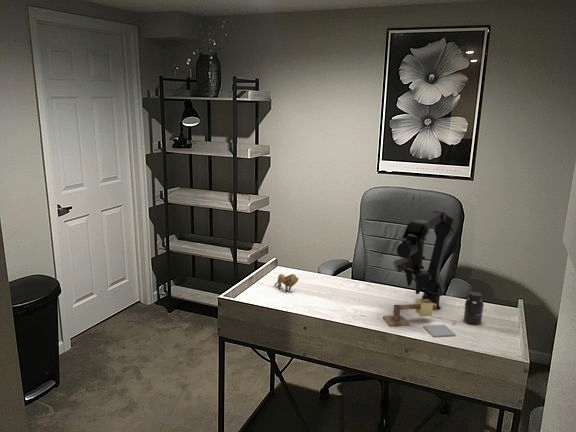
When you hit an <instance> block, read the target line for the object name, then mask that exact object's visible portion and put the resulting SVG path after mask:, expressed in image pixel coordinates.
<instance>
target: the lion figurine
mask: <svg viewBox="0 0 576 432" xmlns="http://www.w3.org/2000/svg"><path fill="white" fill-rule="evenodd" d="M277 277H278V278H277V281H276V283H274V286H276V285H277V289H278V288H280V289H281V286H280V285H284V286H285V293H286V292H288V293H289V290H292V287H293V286H294V285H296V284H297V283H298V281H299V279H300V278H299V277H298V276H297V275H296V274H295V273H291V274H288V275H286V276H285V274H283V273H280V274H278V276H277Z"/></svg>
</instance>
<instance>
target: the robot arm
mask: <svg viewBox="0 0 576 432" xmlns="http://www.w3.org/2000/svg"><path fill="white" fill-rule="evenodd" d="M433 227H434V229H433V231H434V234H435V241H434V245H433V249H432V253H431V258H430V262H429V265H428V269H427V270H424V269H425V266H424V265H423V261H424V260H425V258H426V257H425V255H424V250H425V249H424V247H425V241H427V236H428V235H429V232H430V230H431V229H432V228H433ZM456 229H457V224H456V221H455V220H454V218H453V217H451V216H449V215H448V213H446V212H445V211H440V210H434V211H432V213H431V214H429V215H427V216H425V217H423V218H422V219H414V220H410V221H409V223H408V224H407V226H406V228H405V231H404V233H403V235H402V241H401V243H400V244H399V245H398V246H397V248H396V253H397V255H398V256H399V257H400V259H397V260H394V261H393V262H392V263H393V266H394V269H395V270H396V272H397V273H401V272H404V274H405V275H404V276H405V280H406V285H407V286H408V287H410V286H411V285H412V282H414V288H415V290H414V291H415V295H420V293H422V295H421V299H429V300H430V301H431V302H432V303H435V304H436V305H437V308H433V310H440V309H441V308H442V307H441V306H440V298H441V297H443V295H444V292H445V288H444V286H443V284H442V282H443V281H442V276H441V273H440V272H441V270H442V269H441V267H442V264H443V260H444V255H445V253H446V252H445V251H446V247H447V244H448V240H450V238H452V237H453V236H454V233H455V231H456Z"/></svg>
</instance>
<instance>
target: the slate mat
mask: <svg viewBox="0 0 576 432" xmlns="http://www.w3.org/2000/svg"><path fill="white" fill-rule="evenodd" d="M422 328H424V330H426V332H428V333H429V335H430V336H431V337H433V338H447V337H456V335H457V334H456V333H454V332H453V331H452V330H451V329H450V328H449V327H448V326H447V325H446V324H429V325H427V324H426V325H425V324H424V325H423V326H422Z"/></svg>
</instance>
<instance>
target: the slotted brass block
mask: <svg viewBox="0 0 576 432" xmlns="http://www.w3.org/2000/svg"><path fill="white" fill-rule="evenodd" d="M415 301H416V302H415V304H418V305H419V306H420V308H419V309H414V310H415V311H414V312H415V313H416V314H418V316H419V317H432V316H433V311H434V309H433V303H432V302H431V301H430V300H429V299H422V298H416V299H415Z"/></svg>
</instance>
